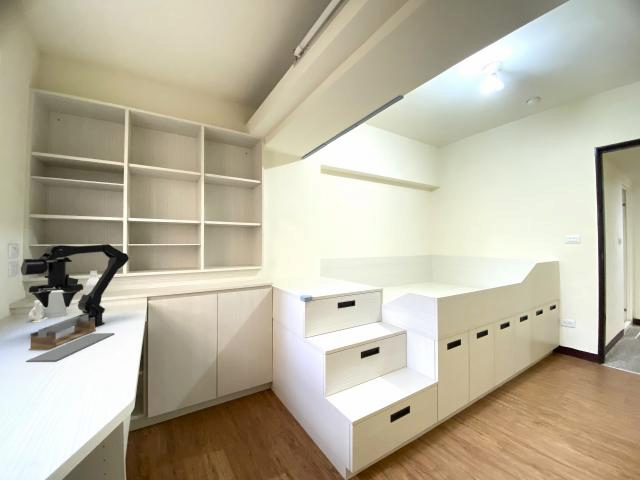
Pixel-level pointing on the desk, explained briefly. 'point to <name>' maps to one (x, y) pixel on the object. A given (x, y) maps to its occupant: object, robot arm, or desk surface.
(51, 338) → the standards
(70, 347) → the mat
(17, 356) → the desk surface
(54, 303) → the skincare box
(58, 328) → the rail
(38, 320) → the koala figurine
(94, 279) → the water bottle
